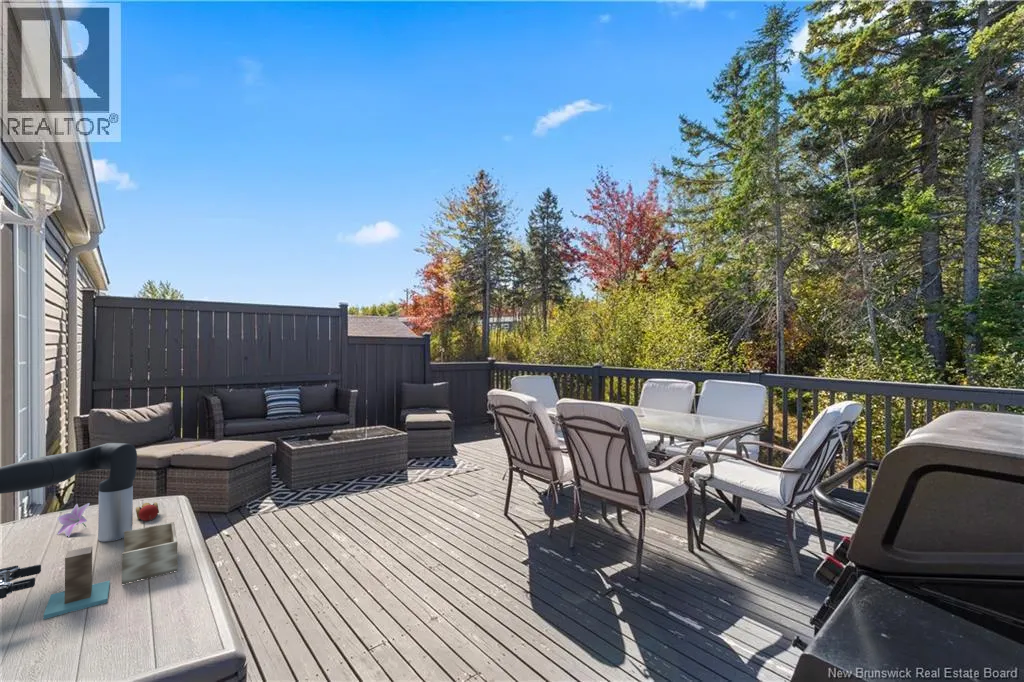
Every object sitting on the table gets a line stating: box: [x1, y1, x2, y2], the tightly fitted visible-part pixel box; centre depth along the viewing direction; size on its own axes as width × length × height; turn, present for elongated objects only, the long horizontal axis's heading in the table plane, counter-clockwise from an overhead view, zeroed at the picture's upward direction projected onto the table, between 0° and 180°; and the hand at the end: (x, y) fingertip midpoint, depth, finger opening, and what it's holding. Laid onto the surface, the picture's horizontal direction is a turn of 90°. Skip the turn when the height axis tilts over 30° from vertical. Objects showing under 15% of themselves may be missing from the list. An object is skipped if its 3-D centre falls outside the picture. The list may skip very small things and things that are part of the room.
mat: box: [43, 580, 111, 620], centre depth 123 cm, size 12×12×1 cm
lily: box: [56, 502, 90, 538], centre depth 167 cm, size 12×12×10 cm
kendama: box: [135, 501, 160, 522], centre depth 182 cm, size 8×6×18 cm
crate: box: [121, 521, 178, 585], centre depth 142 cm, size 13×20×9 cm, turn 39°
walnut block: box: [64, 545, 93, 604], centre depth 123 cm, size 5×5×12 cm
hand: (37, 575), depth 118 cm, fingers open, 8 cm apart
